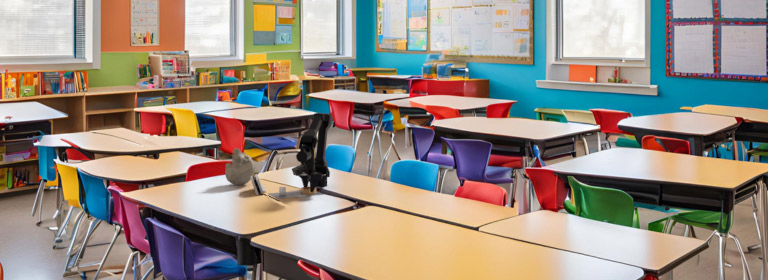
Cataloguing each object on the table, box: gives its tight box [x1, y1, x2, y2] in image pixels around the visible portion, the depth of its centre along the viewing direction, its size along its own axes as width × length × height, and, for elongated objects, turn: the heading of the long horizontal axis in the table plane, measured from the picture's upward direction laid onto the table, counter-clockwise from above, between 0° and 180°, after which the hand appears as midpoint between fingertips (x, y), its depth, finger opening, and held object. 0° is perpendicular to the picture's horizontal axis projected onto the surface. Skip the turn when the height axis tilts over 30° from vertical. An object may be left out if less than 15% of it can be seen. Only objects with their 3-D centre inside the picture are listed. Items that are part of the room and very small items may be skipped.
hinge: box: [250, 173, 267, 196], centre depth 362 cm, size 17×5×10 cm, turn 12°
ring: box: [300, 185, 317, 194], centre depth 356 cm, size 7×7×2 cm
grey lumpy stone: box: [224, 147, 256, 186], centre depth 377 cm, size 13×15×20 cm
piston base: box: [267, 186, 325, 202], centre depth 352 cm, size 24×14×5 cm, turn 121°
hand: (308, 190), depth 356 cm, fingers closed on ring, 7 cm apart
